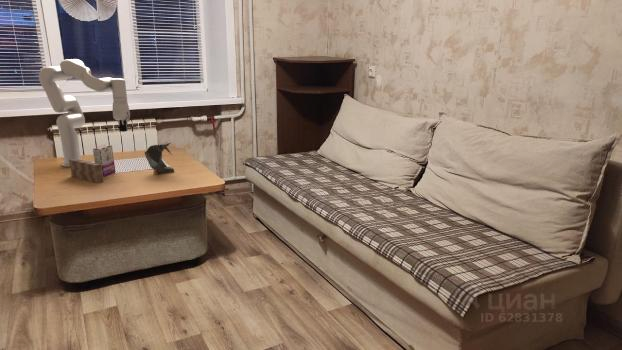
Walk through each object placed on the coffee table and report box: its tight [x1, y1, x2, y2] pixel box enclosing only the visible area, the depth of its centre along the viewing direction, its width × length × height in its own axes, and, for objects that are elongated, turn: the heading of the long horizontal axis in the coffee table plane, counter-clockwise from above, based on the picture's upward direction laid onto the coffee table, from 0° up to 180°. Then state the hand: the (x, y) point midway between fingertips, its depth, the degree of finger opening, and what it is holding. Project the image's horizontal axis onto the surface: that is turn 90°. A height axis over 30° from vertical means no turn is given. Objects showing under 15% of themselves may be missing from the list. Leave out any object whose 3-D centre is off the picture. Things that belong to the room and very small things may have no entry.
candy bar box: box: [92, 144, 116, 178], centre depth 256 cm, size 11×5×16 cm, turn 168°
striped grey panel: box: [69, 159, 104, 184], centre depth 247 cm, size 24×3×10 cm, turn 60°
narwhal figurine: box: [144, 142, 175, 175], centre depth 260 cm, size 14×15×18 cm
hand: (123, 130), depth 264 cm, fingers closed
